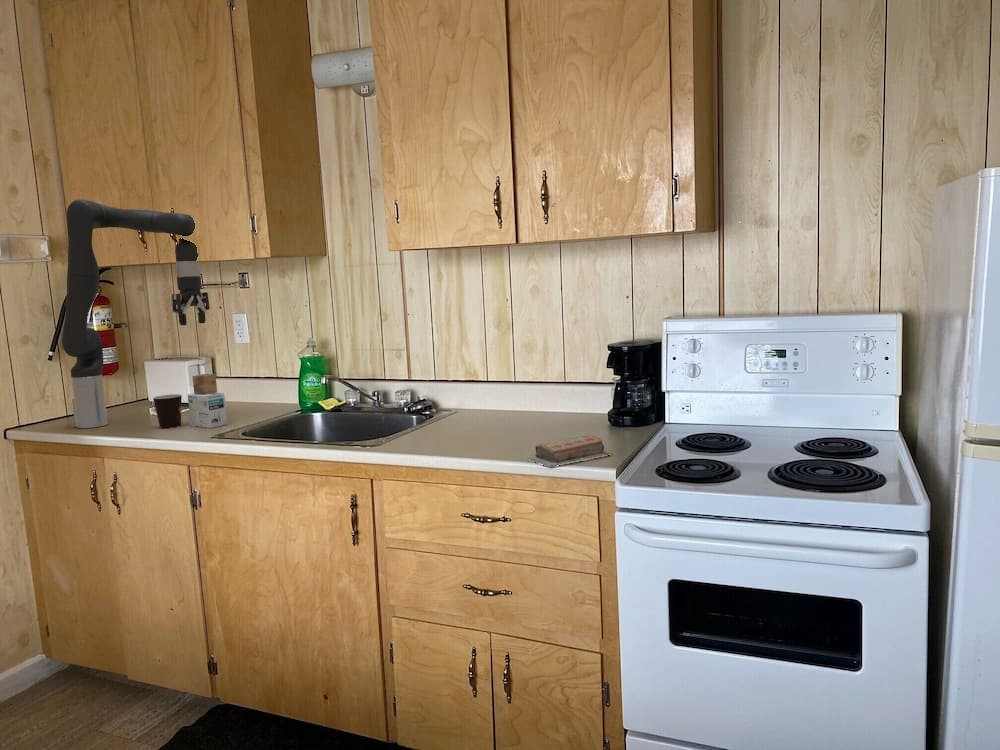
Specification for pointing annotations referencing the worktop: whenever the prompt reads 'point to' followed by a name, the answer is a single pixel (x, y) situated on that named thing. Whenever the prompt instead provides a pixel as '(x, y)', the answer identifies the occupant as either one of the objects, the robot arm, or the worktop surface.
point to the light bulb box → (207, 410)
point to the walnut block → (204, 384)
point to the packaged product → (568, 450)
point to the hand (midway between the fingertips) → (192, 324)
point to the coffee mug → (168, 410)
